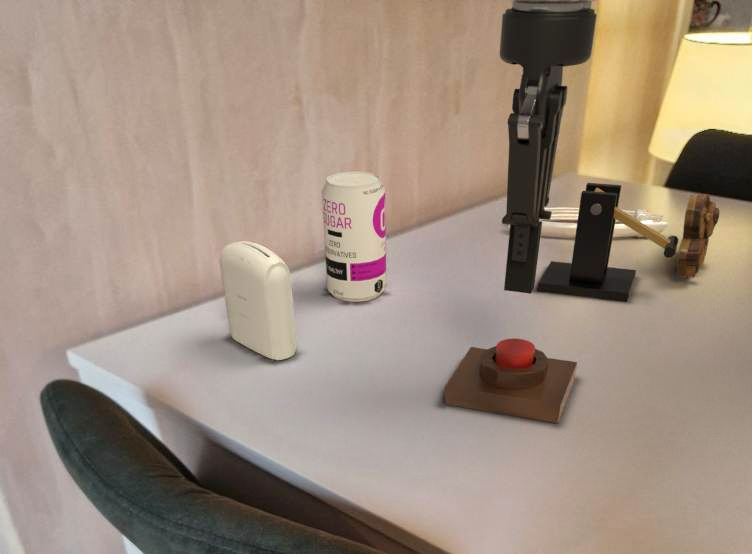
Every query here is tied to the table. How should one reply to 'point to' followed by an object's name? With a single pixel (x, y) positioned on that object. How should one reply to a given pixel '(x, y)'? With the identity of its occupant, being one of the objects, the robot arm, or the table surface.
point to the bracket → (592, 252)
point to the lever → (647, 231)
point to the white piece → (619, 229)
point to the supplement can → (355, 235)
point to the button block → (511, 385)
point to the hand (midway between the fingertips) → (519, 289)
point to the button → (514, 353)
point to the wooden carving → (696, 234)
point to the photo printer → (259, 299)
